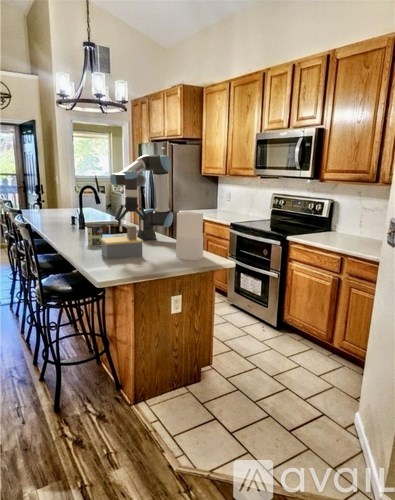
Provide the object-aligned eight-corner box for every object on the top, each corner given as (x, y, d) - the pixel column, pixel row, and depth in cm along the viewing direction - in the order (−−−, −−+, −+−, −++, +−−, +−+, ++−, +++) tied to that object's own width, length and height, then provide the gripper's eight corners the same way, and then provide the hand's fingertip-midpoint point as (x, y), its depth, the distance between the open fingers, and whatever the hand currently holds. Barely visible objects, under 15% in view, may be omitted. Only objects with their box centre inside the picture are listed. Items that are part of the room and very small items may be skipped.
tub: (135, 252, 234) (135, 237, 231) (142, 257, 222) (142, 242, 219) (101, 255, 223) (101, 240, 221) (107, 261, 211) (106, 244, 209)
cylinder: (172, 254, 233) (173, 211, 226) (196, 252, 239) (197, 211, 233) (181, 260, 217) (182, 215, 211) (207, 258, 224) (208, 214, 217)
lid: (135, 239, 232) (135, 223, 230) (143, 244, 220) (142, 227, 217) (100, 242, 222) (100, 225, 219) (106, 247, 209) (106, 229, 207)
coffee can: (105, 244, 256) (104, 224, 253) (98, 247, 246) (98, 227, 243) (92, 243, 258) (91, 223, 255) (85, 246, 248) (84, 226, 245)
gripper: (148, 196, 226) (148, 228, 231) (109, 196, 214) (110, 230, 219) (152, 196, 219) (152, 230, 224) (112, 197, 208) (113, 232, 213)
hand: (131, 230), depth 222 cm, fingers open, 13 cm apart
